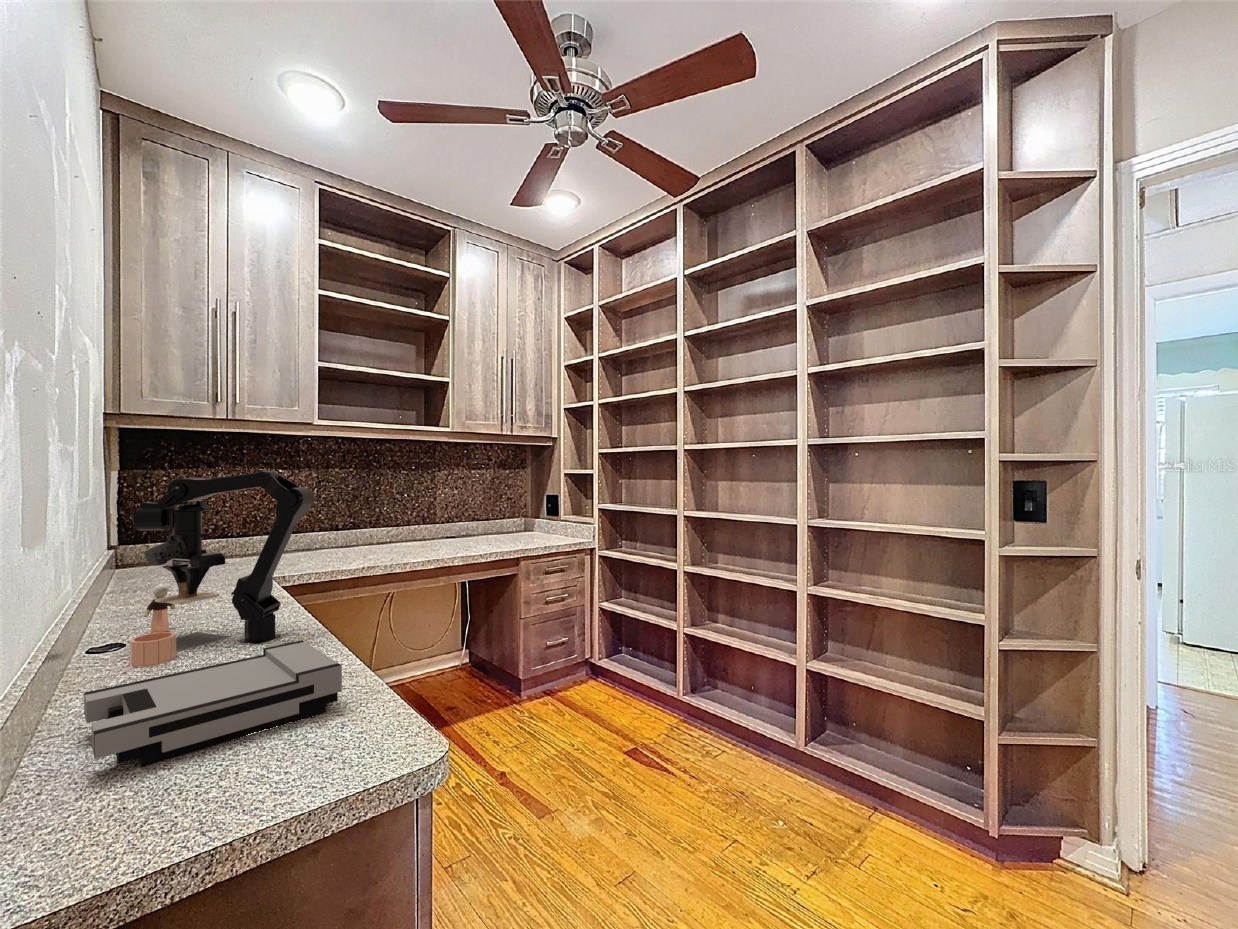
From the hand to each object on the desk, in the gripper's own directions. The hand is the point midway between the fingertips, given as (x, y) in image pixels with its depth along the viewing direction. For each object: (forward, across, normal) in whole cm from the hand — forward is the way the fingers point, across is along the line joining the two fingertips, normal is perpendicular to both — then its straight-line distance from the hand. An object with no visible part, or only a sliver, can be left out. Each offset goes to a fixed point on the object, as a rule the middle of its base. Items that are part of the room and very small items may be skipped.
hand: (187, 594), depth 139 cm
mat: (+12, 0, 0) cm, 12 cm away
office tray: (+12, +50, -27) cm, 58 cm away
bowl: (+12, +7, -12) cm, 18 cm away
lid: (+1, 0, 0) cm, 1 cm away
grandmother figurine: (+12, -15, +3) cm, 20 cm away
